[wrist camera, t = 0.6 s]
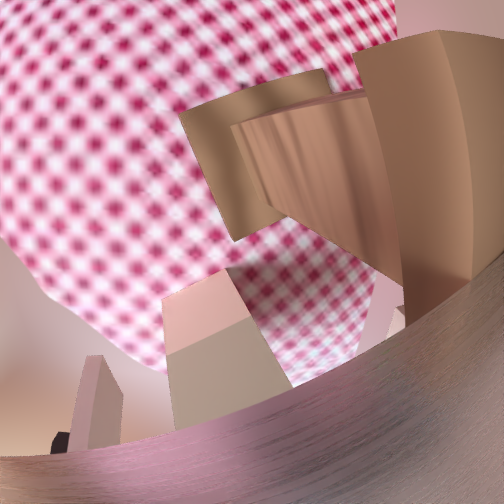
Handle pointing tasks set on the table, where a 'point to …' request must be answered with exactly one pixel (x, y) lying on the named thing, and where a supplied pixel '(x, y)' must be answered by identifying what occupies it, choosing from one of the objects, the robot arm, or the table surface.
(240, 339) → the tower upper
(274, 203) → the walnut stand
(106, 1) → the table surface
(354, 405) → the steel bar
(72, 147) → the table surface
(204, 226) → the table surface
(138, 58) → the table surface
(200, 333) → the tower lower
